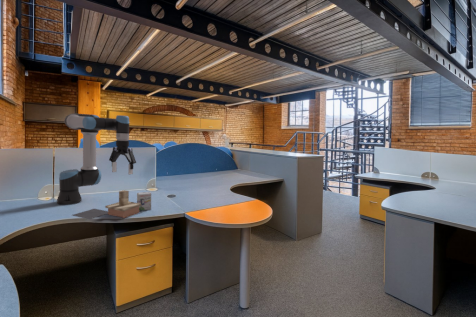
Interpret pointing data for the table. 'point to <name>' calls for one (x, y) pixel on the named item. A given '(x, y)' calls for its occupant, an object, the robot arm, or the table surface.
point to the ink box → (144, 200)
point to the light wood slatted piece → (123, 202)
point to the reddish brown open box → (123, 212)
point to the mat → (91, 213)
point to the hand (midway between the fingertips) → (122, 173)
